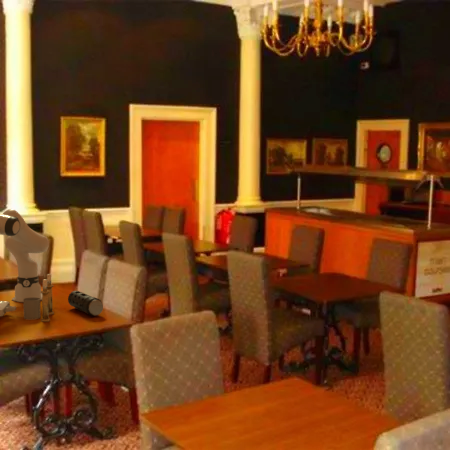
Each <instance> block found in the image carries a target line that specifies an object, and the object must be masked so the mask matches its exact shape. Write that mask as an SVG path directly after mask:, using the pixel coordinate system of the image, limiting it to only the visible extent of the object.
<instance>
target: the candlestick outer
mask: <svg viewBox="0 0 450 450" xmlns="http://www.w3.org/2000/svg"><path fill="white" fill-rule="evenodd" d="M49 292H50V291H48V290H47V278H44V279H42V290H41V293H42V300H41V301H42V303H41V304H42V306H41V308H42V318H41V319H40V322H42V323H49V322H51V318H50V317H49V316H50V315H49V312H48V293H49Z"/></svg>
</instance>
